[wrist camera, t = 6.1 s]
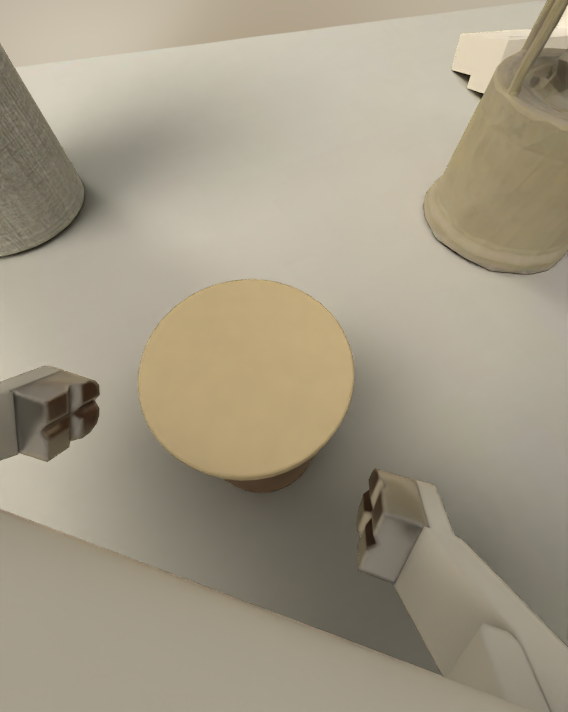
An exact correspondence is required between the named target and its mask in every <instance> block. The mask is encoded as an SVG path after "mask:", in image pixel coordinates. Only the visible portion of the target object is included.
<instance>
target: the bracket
mask: <svg viewBox="0 0 568 712" xmlns="http://www.w3.org/2000/svg"><path fill="white" fill-rule="evenodd" d="M531 30H532V29H520V30H506V31H492V32H478V33H464V34H461V36H460V39H459V43H458V47H457V50H456V54H455V58H454V61H453V65H452V69H451V70H454V71H458V72H461V73H465V74H468V75H471V76H470V79H469V83H468V86H467V88H468V89H471V90H474V91H477V92H480V93H483V94H484V93H485V91H486V89H487V87H488V84H489V82H490V80H491V78H492V76H493V74H494V72H495V70H496V68H497V66H498V65H499V64H500V63H501V62H502V61H503V60H504V59H505V58H507V57H509V56H511V55H513V54H516V53H517V52H519V51H520V50H521V49H522V47H523V45H524V43H525V41H526V40H527V38H528V36H529V34H530V32H531ZM544 48H558V49H567V48H568V6H567V7H566V9H565V11H564V13H563V15H562V18H561V20H560V22H559V25H558V27H555V29H554V31H553V32H552V34H551V36H550V38H549V39H548V41H547V43H546V44H545V46H544Z"/></svg>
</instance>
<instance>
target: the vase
mask: <svg viewBox="0 0 568 712" xmlns="http://www.w3.org/2000/svg"><path fill="white" fill-rule="evenodd" d="M83 200H84V187H83V184H82V182H81V180H80V178H79V176H78V174H77V172H76V171H75V169H74V167H73V165H72V163H71V161H70V160H69V158H68V156H67V155H66V153H65V151H64V150H63V148H62V146H61V145H60V143H59V141H58V140H57V138H56V136H55V135H54V133H53V131H52V130H51V128H50V126H49V125H48V123H47V121H46V120H45V118H44V116H43V114H42V113H41V111H40V109H39V108H38V106H37V104H36V103H35V101H34V99H33V98H32V96H31V94H30V93H29V91H28V89H27V88H26V86H25V84H24V83H23V81H22V79H21V78H20V76H19V74H18V73H17V71H16V69H15V68H14V66H13V65H12V63H11V61H10V59H9V58H8V56H7V54H6V52H5V51H4V49H3V47H2V46H1V44H0V256H6V255H11V254H15V253H19V252H22V251H25V250H28V249H31V248H34V247H36V246H38V245H40V244H42V243H44V242H46V241H48V240H50V239H51V238H53V237H55V236H56V235H57V234H59V233H60V232H61V231H62V230H63V229H65V228H66V227H67V226H68V225H69V224H70V223H71V222H72V220H73V219H74V218H75V216H76V215H77V214H78V212H79V210H80V208H81V206H82V204H83Z"/></svg>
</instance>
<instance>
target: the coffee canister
mask: <svg viewBox="0 0 568 712" xmlns="http://www.w3.org/2000/svg"><path fill="white" fill-rule="evenodd" d="M353 387H354V363H353V356H352V352H351V349H350V345H349V342H348V340H347V338H346V336H345V334H344V331H343V330H342V328H341V327H340V325H339V323H338V322H337V320H336V319H335V318H334V317H333V316H332V314H331V313H330V312H329V311H328V310H327V309H326V308H325V307H324V306H323V305H322V304H321V303H319V302H318V301H316V300H315V299H314V298H312V297H311V296H309V295H308V294H306V293H304V292H302V291H300V290H298V289H296V288H293V287H291V286H288V285H285V284H282V283H278V282H273V281H268V280H257V279H245V280H235V281H228V282H224V283H220V284H216V285H213V286H211V287H208V288H205V289H203V290H201V291H199V292H197V293H195V294H193V295H191V296H190V297H188V298H186V299H185V300H183V301H182V302H181V303H179V304H178V305H177V306H175V307H174V308H173V309H172V310H171V311H170V312H169V313H168V314H167V315H166V316H165V317H164V318H163V319H162V321H161V322H160V323H159V324H158V325H157V327H156V328H155V330H154V331H153V333H152V335H151V336H150V338H149V340H148V342H147V344H146V347H145V349H144V352H143V355H142V358H141V362H140V368H139V373H138V392H139V400H140V404H141V408H142V412H143V415H144V417H145V419H146V422H147V424H148V426H149V428H150V429H151V431H152V432H153V434H154V436H155V437H156V439H157V440H158V441H159V442H160V443H161V444H162V445H163V446H164V448H165V449H166V450H167V451H169V452H170V453H171V454H172V455H173V456H175V457H176V458H177V459H178V460H180V461H182V462H183V463H185V464H187V465H189V466H190V467H192V468H194V469H196V470H198V471H201V472H203V473H206V474H208V475H211V476H215V477H219V478H222V479H224V480H225V481H227V482H229V483H231V484H233V485H234V486H236V487H238V488H241V489H243V490H246V491H250V492H258V493H262V492H271V491H276V490H279V489H282V488H284V487H286V486H288V485H290V484H291V483H292V482H294V481H295V480H296V479H298V478H299V477H300V476H301V475H302V474H303V472H304V471H305V470H306V468H307V467H308V465H309V464H310V462H311V461H312V459H313V458H314V456H315V455H316V453H317V452H318V451H319V450H321V449H322V448H323V447H324V446H325V444H326V443H327V442H328V441H329V440H330V438H331V437H332V436H333V435H334V433H335V432H336V430H337V429H338V427H339V425H340V424H341V422H342V421H343V419H344V416H345V414H346V412H347V410H348V407H349V404H350V401H351V397H352V394H353Z"/></svg>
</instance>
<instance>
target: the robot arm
mask: <svg viewBox="0 0 568 712" xmlns="http://www.w3.org/2000/svg"><path fill="white" fill-rule="evenodd" d="M99 395H100V393H99V384H98V383H97V382H96V381H95V380H92V379H89V378H86V377H83V376H80V375H77V374H74V373H71V372H68V371H64V370H62V369H59V368H55V367H52V366H43V367H40V368H37V369H34V370H32V371H29V372H26V373H23V374H20V375H18V376H15V377H12V378H9V379H7V380H4V381H1V382H0V460H3V459H6V458H9V457H12V456H15V455H18V453H21V454H24V455H27V456H31V457H34V458H37V459H40V460H43V461H46V462H48V461H50V460H51V459H53V458H54V457H55V456H57V455H58V454H60V453H61V452H63V451H64V450H66V449H67V448H69V445H70V442H71V441H73V440H77V439H81V438H83V437H85V436H86V435H87V434H89V433H90V432H91V431H92V429H93V428H94V427H95V425H96V424H97V421H98V418H99V407H98V405H97V403H96V401H95V399H96V398H97V397H98V396H99ZM357 531H358V533H359V534H360V536H361V538H360V541H359V543H358V546H357V547H358V571H360V572H363V573H366V574H368V575H371V576H373V577H376V578H379V579H381V580H384V581H386V582H389V583H392V584H394V587H395V589H396V591H397V593H398V595H399V597H400V598H401V600H402V602H403V604H404V606H405V608H406V609H407V611H408V613H409V615H410V617H411V619H412V620H413V622H414V624H415V626H416V628H417V630H418V631H419V633H420V635H421V637H422V639H423V641H424V642H425V644H426V646H427V648H428V650H429V652H430V653H431V655H432V657H433V659H434V661H435V663H436V664H437V666H438V668H439V670H440V672H441V674H442V675H443V676H441V675H439V674H436V673H434V672H431V671H428V670H426V669H423V668H420V667H418V666H415V665H412V664H410V663H407V662H404V661H402V660H399V659H396V658H394V657H391V656H388V655H386V654H383V653H381V652H378V651H375V650H373V649H370V648H367V647H365V646H362V645H359V644H357V643H354V642H351V641H349V640H346V639H343V638H341V637H338V636H335V635H333V634H330V633H328V632H325V631H322V630H320V629H317V628H314V627H312V626H309V625H306V624H304V623H301V622H298V621H296V620H293V619H290V618H288V617H285V616H282V615H280V614H277V613H275V612H272V611H269V610H267V609H264V608H261V607H259V606H256V605H253V604H251V603H248V602H245V601H243V600H240V599H237V598H235V597H232V596H230V595H227V594H224V593H222V592H219V591H216V590H214V589H211V588H208V587H206V586H203V585H200V584H198V583H195V582H192V581H190V580H187V579H184V578H182V577H179V576H177V575H174V574H171V573H169V572H166V571H163V570H161V569H158V568H155V567H153V566H150V565H147V564H145V563H142V562H139V561H137V560H134V559H131V558H129V557H126V556H123V555H121V554H118V553H116V552H113V551H110V550H108V549H105V548H102V547H100V546H97V545H94V544H92V543H89V542H86V541H84V540H81V539H78V538H76V537H73V536H70V535H68V534H65V533H63V532H60V531H57V530H55V529H52V528H49V527H47V526H44V525H41V524H39V523H36V522H33V521H31V520H28V519H25V518H23V517H20V516H17V515H15V514H12V513H10V512H7V511H4V510H2V509H0V712H568V647H567V646H566V645H565V644H564V643H563V642H562V641H561V639H560V638H559V637H558V636H557V635H556V634H555V633H554V632H553V631H552V630H551V629H550V628H549V627H548V626H547V625H546V624H545V623H544V622H543V621H542V620H541V619H540V618H539V617H538V616H537V615H536V614H535V613H534V612H533V611H532V610H531V609H530V608H529V607H528V606H527V605H526V604H525V603H524V602H523V601H522V600H521V599H520V598H519V597H518V596H517V595H516V594H515V593H514V592H513V591H512V590H511V589H510V587H509V586H508V585H507V584H506V583H505V582H504V581H503V580H502V579H501V578H500V577H499V576H498V575H497V574H496V573H495V572H494V571H493V570H492V569H491V568H490V567H489V566H488V565H487V564H486V563H485V562H484V561H483V560H482V559H481V558H480V557H479V556H478V555H477V554H476V553H475V552H474V551H473V550H472V549H471V548H470V547H469V546H468V545H467V544H466V543H465V542H464V541H463V540H462V539H461V538H458V537H455V535H454V532H453V530H452V527H451V524H450V522H449V519H448V517H447V514H446V511H445V509H444V506H443V504H442V501H441V498H440V496H439V493H438V490H437V488H436V487H435V486H434V485H433V484H430V483H427V482H423V481H419V480H416V479H411V478H407V477H404V476H401V475H397V474H394V473H390V472H387V471H383V470H380V469H377V468H374V470H373V472H372V473H371V476H370V478H369V490H368V491H367V492H365V493H364V494H363V496H362V499H361V502H360V506H359V510H358V516H357Z"/></svg>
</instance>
